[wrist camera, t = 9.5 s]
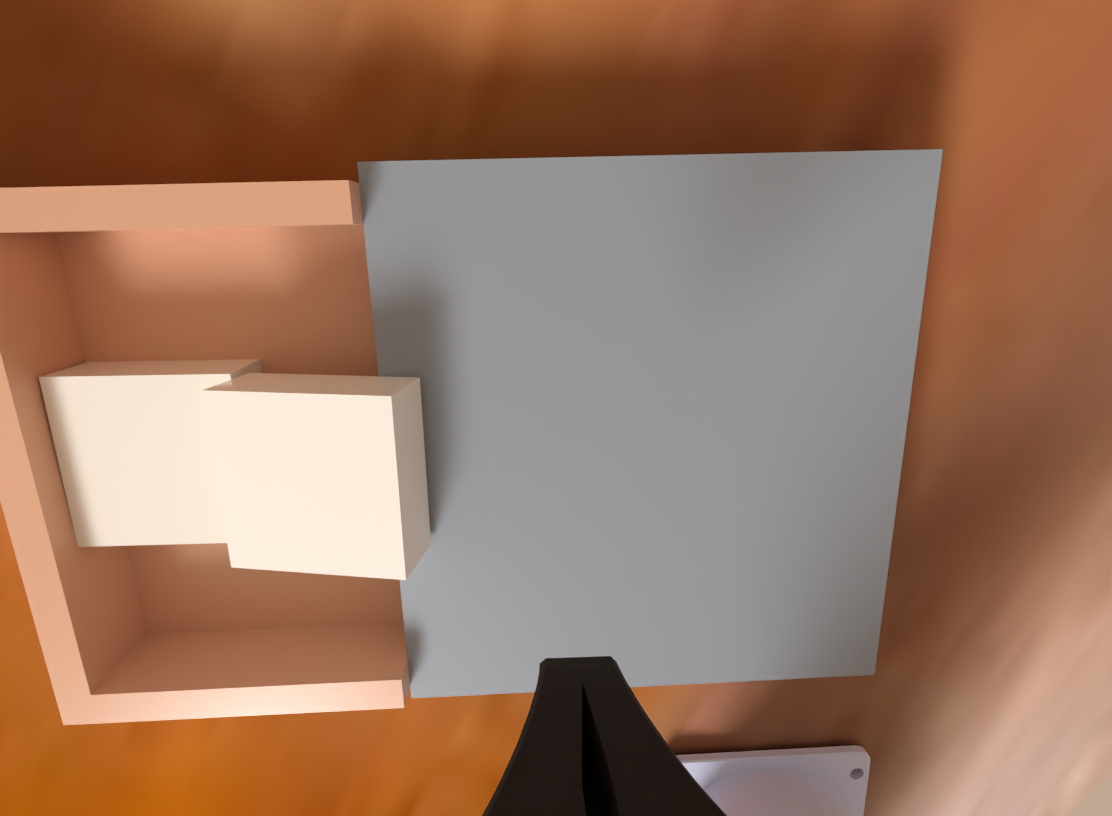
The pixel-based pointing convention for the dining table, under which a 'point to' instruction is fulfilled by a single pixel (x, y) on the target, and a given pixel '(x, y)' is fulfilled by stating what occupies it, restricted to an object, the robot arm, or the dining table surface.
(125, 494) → the tile
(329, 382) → the tile
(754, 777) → the robot arm
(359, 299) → the tray
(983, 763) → the dining table surface
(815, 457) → the board
